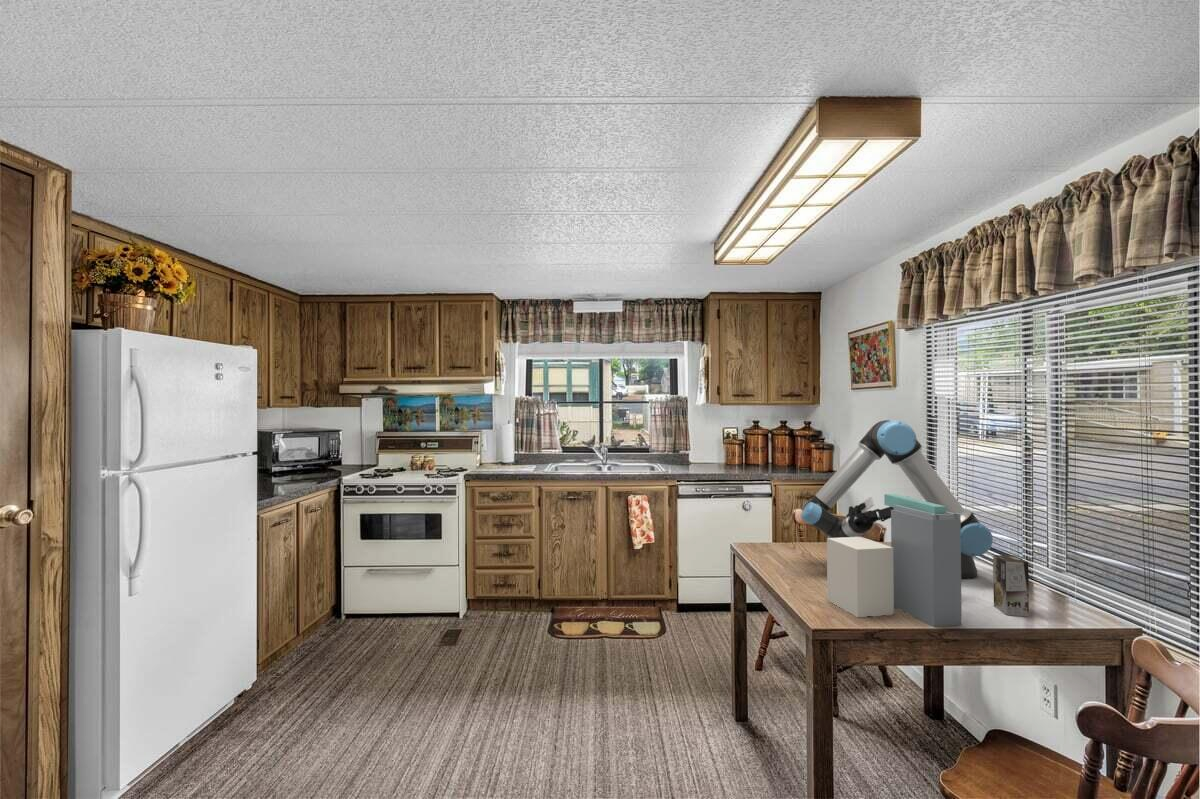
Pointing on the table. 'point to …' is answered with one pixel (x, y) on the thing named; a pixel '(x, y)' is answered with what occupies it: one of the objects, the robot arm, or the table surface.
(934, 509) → the lid bar
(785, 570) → the table surface
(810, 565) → the table surface
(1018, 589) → the coffee box
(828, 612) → the table surface
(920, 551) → the tall grey bin
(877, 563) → the beige tall block
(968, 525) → the robot arm
